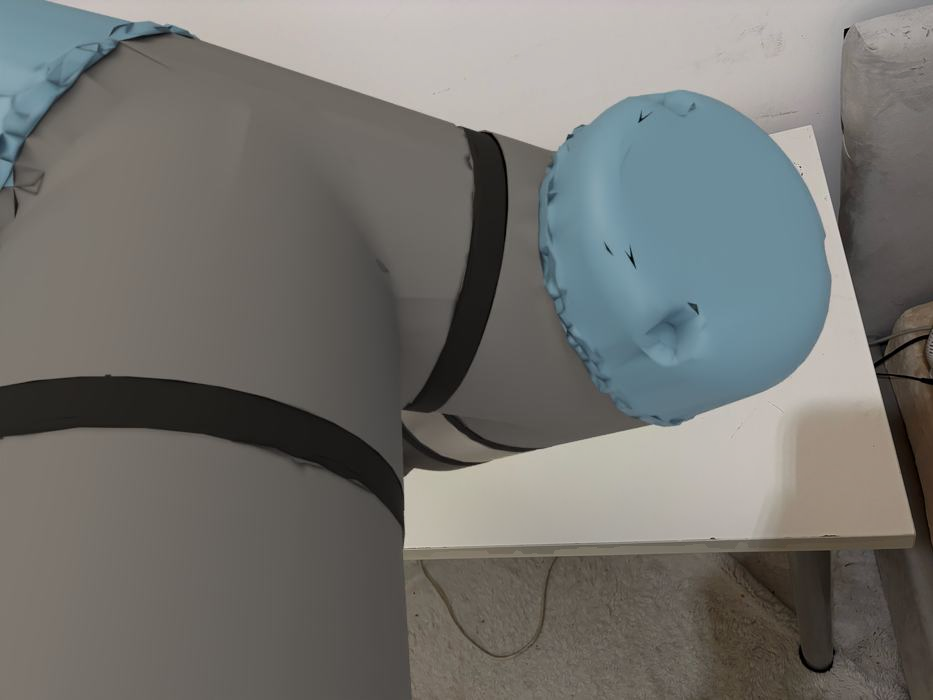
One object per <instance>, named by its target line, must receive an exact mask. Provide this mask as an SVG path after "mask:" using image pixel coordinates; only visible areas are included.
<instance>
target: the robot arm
mask: <svg viewBox="0 0 933 700" xmlns="http://www.w3.org/2000/svg"><path fill="white" fill-rule="evenodd" d="M807 185H808V184H807V183H806V182H805V180H804V178H803V176H802V175H801V173H800V172H799V170H798V169H797V167H796V166H795V164H794V163H793V162H792V160H791V159H790V157H789V156H788V155H787V154H786V153H785V151H784V150H783V149H782V147H781V146H780V145H779V144H778V143H777V142H776V141H775V140H774V139H773V138H772V137H771V136H770V135H769V134H768V133H767V132H766V131H765V130H764V129H763V128H761V127H760V126H759V125H758V124H757V123H755V121H753V120H752V119H751V118H750V117H748V116H747V115H745V114H743V113H742V112H741V111H739V110H738V109H736V108H735V107H732V106H731V105H730V104H727V103H725V102H724V101H721V100H719V99H717V98H714V97H712V96H708V95H705V94H702V93H699V92H695V91H691V90H687V89H676V90H671V91H666V92H657V93H648V94H641V95H635V96H631V95H630V96H627V97H625V98H623V99H621V100H620V101H618V102H616V103H614V104H613V105H611V106H609V107H607V108H605V110H604V111H602V112H601V113H600V114H599V115H598V116H596V118H594V119H593V120H592V121H591V122H590V123H589V124H583V123H581V124H580V125H578V126H575V128H573V130H572V131H571V133H568V134H567V136H566V139H565V141H564V142H563V143H562V144H561V145H559V146H558V148H557V150H550V149H547V148H544V147H540V146H538V145H535V144H532V143H528V142H525V141H522V140H519V139H516V138H513V137H511V136H507V135H503V134H500V133H496V132H493V131H490V130H487V129H482V130H478V131H477V130H474V129H471V128H468V127H466V126H462V125H456V123H453V122H450V121H448V120H445V119H442V118H438V117H435V116H433V115H429V114H426V113H424V112H421V111H418V110H414V109H411V108H408V107H405V106H402V105H398V104H396V103H393V102H390V101H387V100H384V99H380V98H378V97H374V96H372V95H369V94H365V93H363V92H359V91H357V90H353V89H350V88H347V87H344V86H342V85H339V84H335V83H332V82H329V81H326V80H323V79H320V78H317V77H314V76H311V75H308V74H306V73H302V72H299V71H296V70H293V69H290V68H286V67H284V66H280V65H277V64H275V63H272V62H269V61H265V60H262V59H259V58H257V57H254V56H250V55H248V54H244V53H242V52H238V51H235V50H233V49H229V48H226V47H223V46H220V45H216V44H213V43H211V42H208V41H205V40H202V39H200V38H199V37H198V36H196V34H192V33H191V32H190V31H189V30H187V29H185V28H182V27H180V26H176V25H174V24H171V23H170V24H169V23H165V24H163V25H162V24H160V23H157V22H154V21H151V20H145V21H143V20H142V21H130V20H128V19H124V18H123V19H122V18H119V17H114V16H111V15H106V14H102V13H99V12H98V13H97V12H94V11H90V10H86V9H82V8H79V7H74V6H69V5H66V4H62V3H59V2H54V1H49V0H0V700H413V696H412V694H413V693H412V678H411V677H412V676H411V662H410V661H411V660H410V647H409V646H410V644H409V630H408V629H409V628H408V626H409V625H408V612H407V610H408V609H407V595H406V579H405V578H406V577H405V561H404V560H405V559H404V548H405V539H406V538H405V537H406V525H405V510H406V509H405V507H406V506H405V484H404V483H405V479H404V478H405V477H406V476H407V475H409V474H410V473H411V472H412V471H413V470H414V469H417V470H423V471H432V472H452V471H459V470H462V469H466V468H471V467H474V466H479V465H483V464H487V463H490V462H492V461H495V460H499V459H504V458H508V457H513V456H518V455H522V454H526V453H531V452H535V451H537V450H544V449H549V448H553V447H556V446H561V445H565V444H571V443H574V442H579V441H583V440H589V439H592V438H593V439H594V438H599V437H602V436H607V435H612V434H616V433H620V432H625V431H630V430H635V429H638V428H645V427H648V426H652V425H654V426H659V427H663V428H669V427H679V426H680V425H682V424H683V423H684V422H688V421H691V420H693V419H694V418H695V417H696V416H699V415H702V414H704V413H707V412H710V411H714V410H716V409H718V408H722V407H724V406H727V405H730V404H733V403H737V402H738V401H741V400H744V399H748V398H751V397H752V396H756V395H759V394H760V393H763V392H766V391H768V390H770V389H772V388H774V387H776V386H778V385H779V384H781V383H783V382H784V381H785V380H786V379H787V378H789V377H790V376H791V375H793V374H794V373H795V372H796V371H797V370H798V368H799V367H800V366H801V365H803V363H804V362H805V361H806V360H807V358H808V357H809V356H810V354H811V353H812V351H813V350H814V347H815V346H816V345H817V343H818V340H819V339H820V337H821V334H822V332H823V331H824V328H825V325H826V322H827V321H826V320H827V317H828V314H829V310H830V303H831V302H830V301H831V297H832V296H831V294H832V281H833V279H832V273H831V269H830V266H829V262H828V257H827V253H826V245H825V241H826V238H827V233H826V229H825V227H824V224H823V220H822V217H821V215H820V212H819V209H818V206H817V204H816V202H815V200H814V197H813V195H812V193H811V191H810V189H809V187H808V186H807Z"/></svg>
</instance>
